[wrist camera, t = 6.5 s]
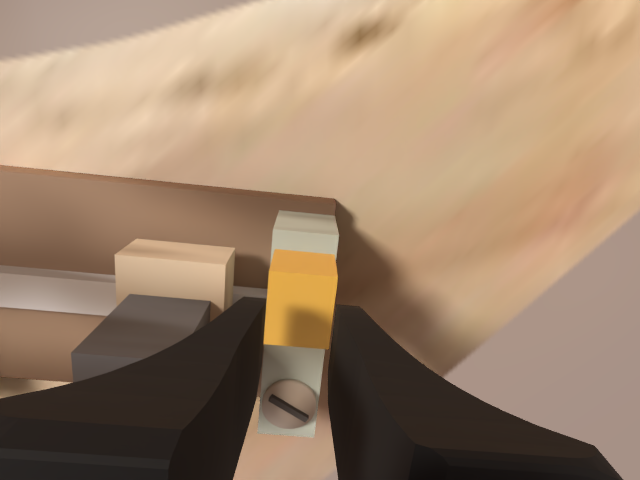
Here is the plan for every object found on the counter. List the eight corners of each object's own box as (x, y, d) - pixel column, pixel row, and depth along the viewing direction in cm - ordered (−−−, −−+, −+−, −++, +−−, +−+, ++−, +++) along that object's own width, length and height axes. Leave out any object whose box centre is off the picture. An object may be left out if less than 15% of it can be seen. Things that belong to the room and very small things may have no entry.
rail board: (312, 385, 22) (313, 455, 18) (-85, 354, 21) (-192, 420, 17) (334, 198, 19) (341, 225, 15) (-125, 152, 18) (-269, 166, 14)
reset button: (326, 318, 15) (328, 349, 13) (269, 313, 15) (263, 344, 13) (334, 254, 14) (337, 277, 12) (274, 248, 14) (269, 270, 12)
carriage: (229, 372, 19) (193, 485, 13) (139, 365, 19) (64, 477, 13) (235, 247, 17) (197, 315, 12) (136, 238, 17) (48, 303, 11)
